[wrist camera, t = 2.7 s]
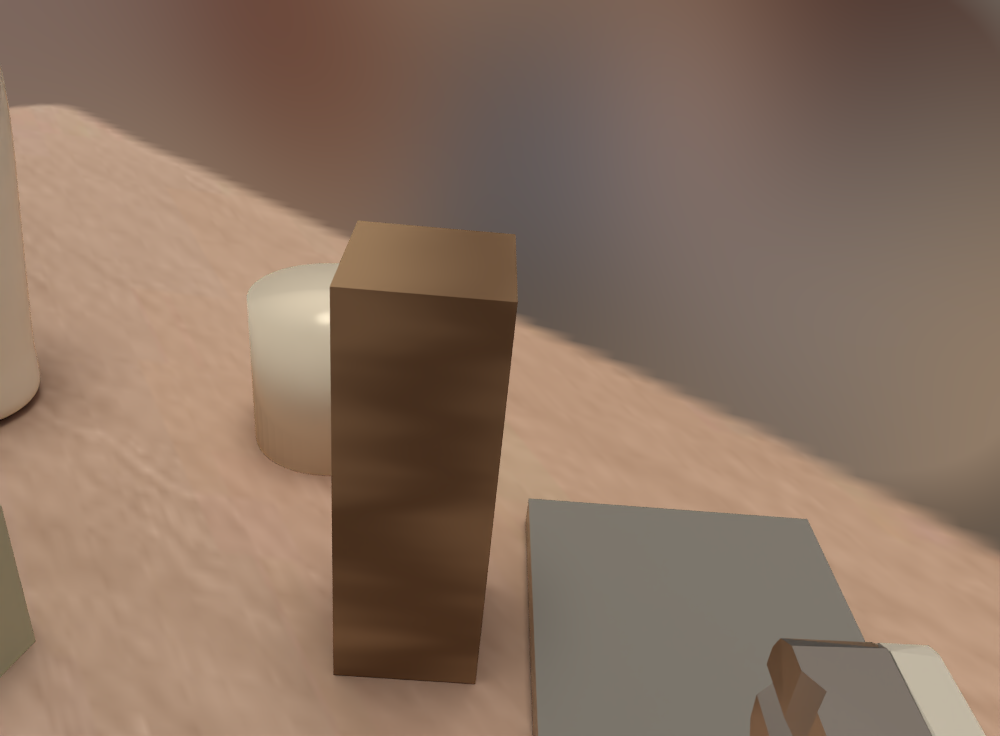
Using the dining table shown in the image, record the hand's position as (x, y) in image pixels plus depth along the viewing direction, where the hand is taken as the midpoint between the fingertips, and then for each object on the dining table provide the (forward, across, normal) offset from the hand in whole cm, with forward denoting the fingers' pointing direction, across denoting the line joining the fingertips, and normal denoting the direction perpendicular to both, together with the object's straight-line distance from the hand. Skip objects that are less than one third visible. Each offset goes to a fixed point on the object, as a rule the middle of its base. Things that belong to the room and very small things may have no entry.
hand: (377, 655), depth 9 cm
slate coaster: (+13, -8, +13) cm, 20 cm away
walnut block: (+12, 0, +13) cm, 18 cm away
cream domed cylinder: (+22, +5, +12) cm, 26 cm away
